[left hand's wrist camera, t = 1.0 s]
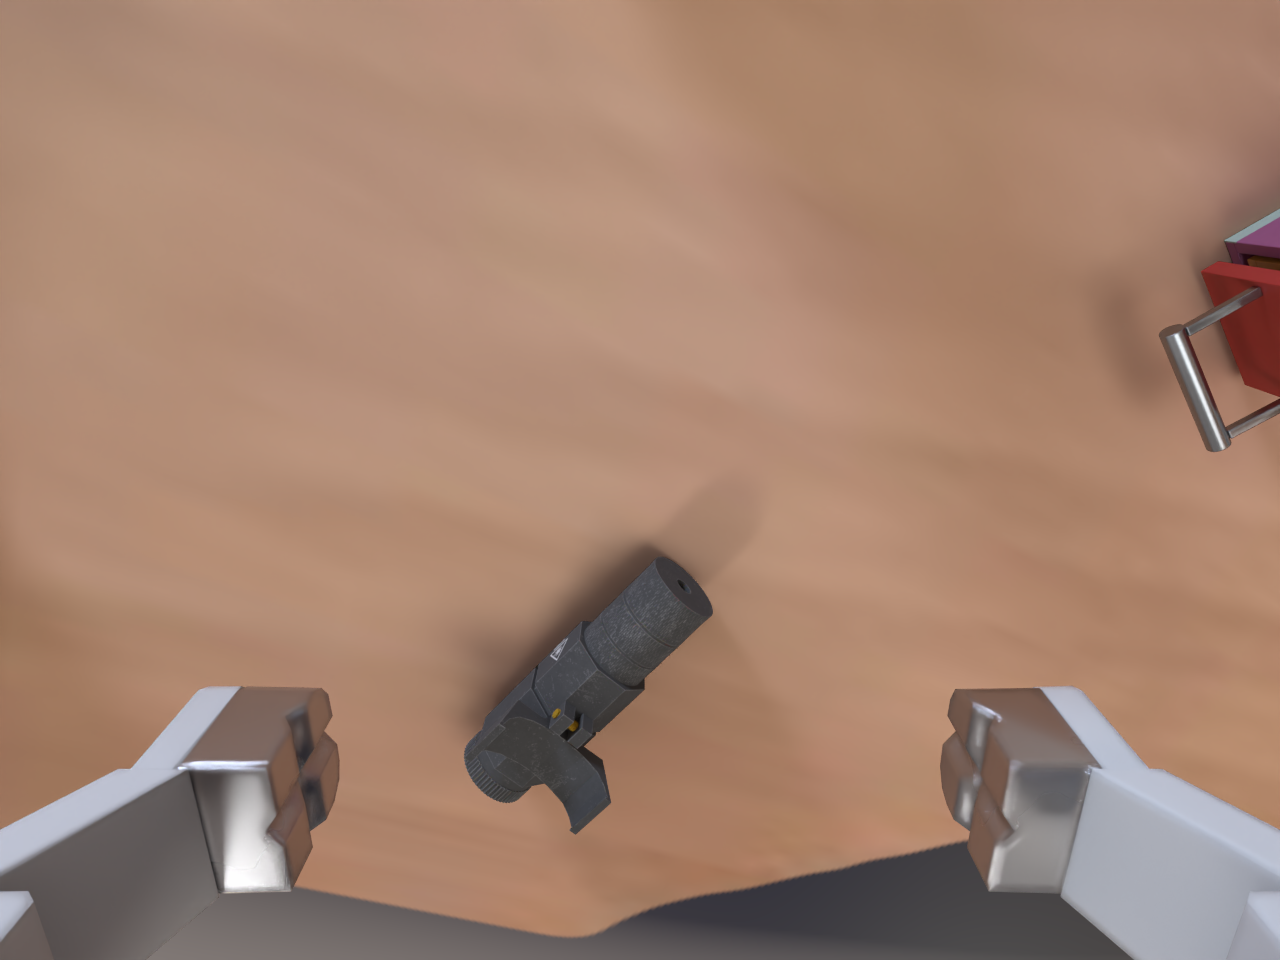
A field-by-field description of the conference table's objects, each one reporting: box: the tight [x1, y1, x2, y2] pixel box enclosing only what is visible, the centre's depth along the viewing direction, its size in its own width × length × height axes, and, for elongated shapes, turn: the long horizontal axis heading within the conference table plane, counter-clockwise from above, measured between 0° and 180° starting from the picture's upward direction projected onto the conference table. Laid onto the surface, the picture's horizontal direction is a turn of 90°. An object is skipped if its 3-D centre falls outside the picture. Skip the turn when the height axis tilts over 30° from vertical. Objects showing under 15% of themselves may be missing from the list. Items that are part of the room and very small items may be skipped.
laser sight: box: [464, 557, 713, 835], centre depth 59 cm, size 10×22×10 cm, turn 138°
